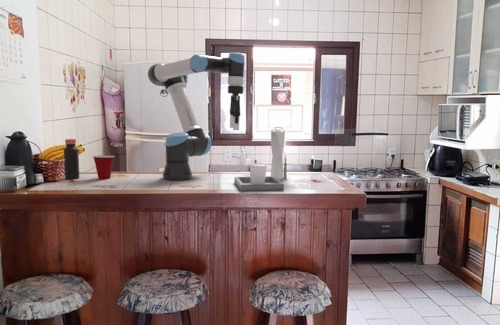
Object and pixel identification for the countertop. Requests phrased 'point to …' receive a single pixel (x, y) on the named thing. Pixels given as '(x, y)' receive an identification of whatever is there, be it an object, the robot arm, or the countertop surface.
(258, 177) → the white cup
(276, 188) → the slate tray
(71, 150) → the bottle
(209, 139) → the robot arm
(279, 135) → the skyscraper
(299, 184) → the countertop surface
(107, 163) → the plastic cup
